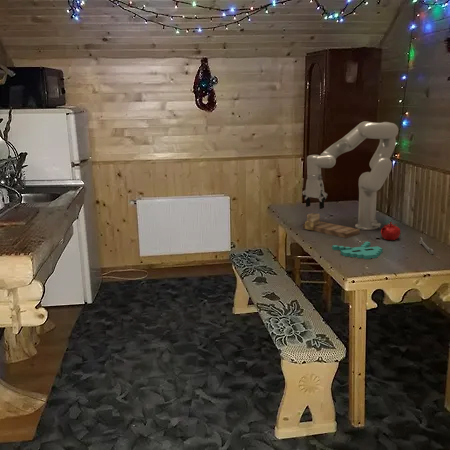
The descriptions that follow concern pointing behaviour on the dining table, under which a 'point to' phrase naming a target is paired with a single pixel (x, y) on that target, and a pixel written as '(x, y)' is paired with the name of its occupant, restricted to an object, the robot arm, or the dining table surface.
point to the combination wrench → (425, 246)
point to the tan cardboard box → (312, 221)
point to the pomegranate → (390, 232)
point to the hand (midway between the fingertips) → (314, 207)
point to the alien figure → (360, 251)
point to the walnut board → (335, 229)
